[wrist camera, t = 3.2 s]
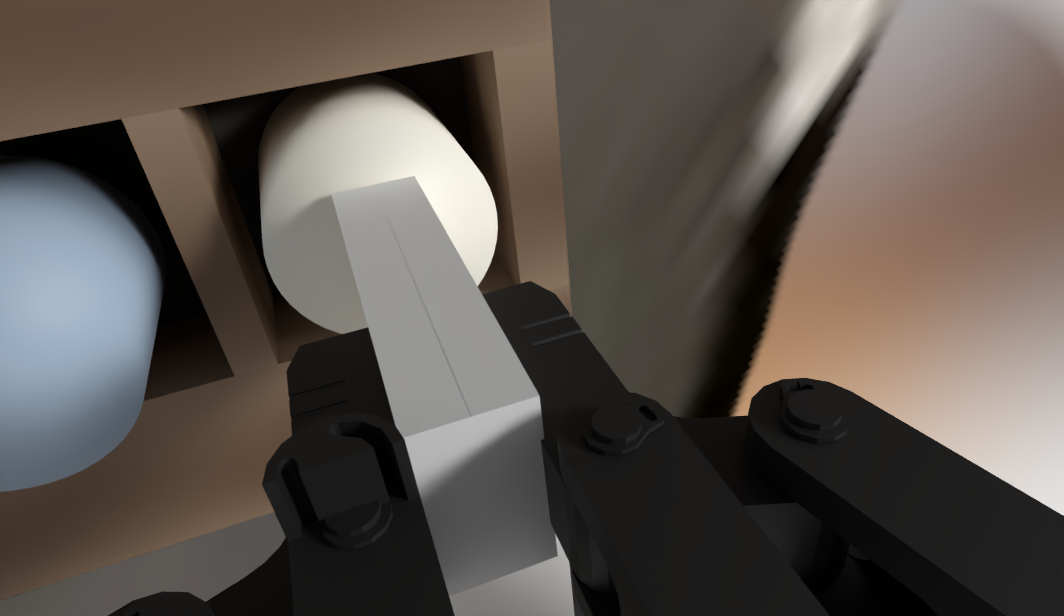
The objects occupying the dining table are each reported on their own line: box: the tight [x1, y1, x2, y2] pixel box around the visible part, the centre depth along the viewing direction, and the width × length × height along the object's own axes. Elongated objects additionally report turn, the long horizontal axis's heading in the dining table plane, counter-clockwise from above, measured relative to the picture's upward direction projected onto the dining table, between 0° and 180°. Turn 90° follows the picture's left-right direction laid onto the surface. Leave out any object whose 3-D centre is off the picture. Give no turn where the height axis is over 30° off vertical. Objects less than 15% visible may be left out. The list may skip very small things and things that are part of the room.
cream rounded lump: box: [258, 73, 498, 334], centre depth 15 cm, size 4×4×4 cm
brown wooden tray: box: [0, 0, 572, 600], centre depth 14 cm, size 14×21×3 cm, turn 98°
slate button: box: [0, 156, 166, 492], centre depth 12 cm, size 4×4×4 cm
